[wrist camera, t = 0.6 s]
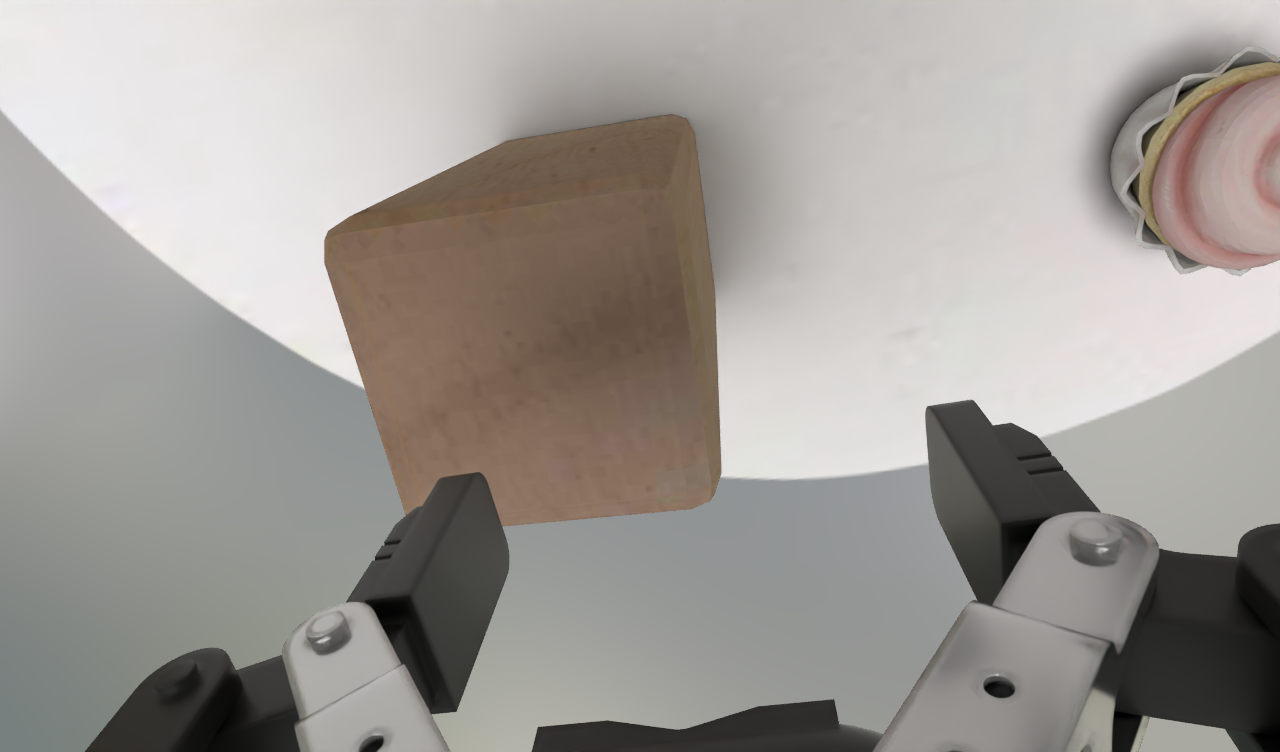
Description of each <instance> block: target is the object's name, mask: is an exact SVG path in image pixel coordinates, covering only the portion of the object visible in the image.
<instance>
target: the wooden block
mask: <svg viewBox="0 0 1280 752" xmlns="http://www.w3.org/2000/svg"><path fill="white" fill-rule="evenodd" d="M324 263H325V266H326V269H327V272H328V275H329V279H330V282H331V285H332V288H333V291H334V294H335V297H336V300H337V303H338V306H339V310H340V313H341V316H342V319H343V322H344V325H345V328H346V331H347V334H348V337H349V341H350V344H351V347H352V350H353V353H354V356H355V359H356V362H357V365H358V368H359V372H360V375H361V378H362V381H363V384H364V387H365V390H366V393H367V396H368V399H369V403H370V406H371V409H372V412H373V415H374V418H375V421H376V424H377V427H378V430H379V434H380V436H381V440H382V443H383V446H384V449H385V452H386V455H387V458H388V461H389V464H390V468H391V471H392V474H393V477H394V480H395V483H396V486H397V489H398V493H399V495H400V498H401V501H402V505H403V508H404V511H405V514H406V515H407V514H409V513H410V512H411V511H412V510H413V509H415V508H416V507H419V506H423V504H424V502H425V501H426V499H427V497H428V496H429V494H430V492H431V491H432V489H433V488H434V486H435V484H436V483H437V481H438V480H439V479H440V478H442V477H448V476H454V475H461V474H468V473H475V472H480V473H482V474H483V475H484V477H485V478H486V480H487V483H488V485H489V488H490V491H491V494H492V497H493V500H494V503H495V506H496V509H497V513H498V516H499V519H500V522H501V525H502V526H511V525H523V524H534V523H545V522H556V521H566V520H577V519H588V518H599V517H610V516H621V515H632V514H642V513H654V512H665V511H676V510H686V509H692V508H695V507H697V506H699V505H702V504H704V503H707V502H709V501H710V500H711V499H712V497H713V496H714V494H715V491H716V488H717V485H718V482H719V479H720V476H721V447H720V419H719V391H718V364H717V336H716V308H715V290H714V282H713V274H712V266H711V259H710V251H709V243H708V235H707V227H706V219H705V211H704V203H703V195H702V187H701V179H700V171H699V163H698V155H697V148H696V140H695V133H694V131H693V129H692V127H691V126H690V124H689V122H688V120H687V119H686V118H682V117H678V116H674V115H665V116H659V117H652V118H646V119H640V120H634V121H628V122H621V123H615V124H609V125H603V126H597V127H590V128H584V129H578V130H572V131H566V132H559V133H553V134H547V135H541V136H535V137H528V138H522V139H516V140H510V141H506V142H504V143H502V144H500V145H498V146H496V147H493V148H491V149H489V150H487V151H485V152H483V153H481V154H479V155H477V156H475V157H473V158H471V159H468V160H466V161H464V162H462V163H460V164H458V165H456V166H454V167H452V168H450V169H448V170H446V171H444V172H441V173H439V174H437V175H435V176H433V177H431V178H429V179H427V180H425V181H423V182H421V183H419V184H417V185H414V186H412V187H410V188H408V189H406V190H404V191H402V192H400V193H398V194H396V195H394V196H392V197H389V198H387V199H385V200H383V201H381V202H379V203H377V204H375V205H373V206H371V207H369V208H367V209H365V210H362V211H360V212H358V213H356V214H354V215H352V216H350V217H348V218H347V219H345V220H344V221H342V222H341V223H339V224H338V225H337V226H335V227H334V228H332V229H331V230H329V231H328V233H327V235H326V238H325V240H324Z"/></svg>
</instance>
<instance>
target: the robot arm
mask: <svg viewBox="0 0 1280 752" xmlns="http://www.w3.org/2000/svg"><path fill="white" fill-rule="evenodd" d="M925 419H926V433H927V447H928V460H929V472H930V484H931V493H932V498H933V503H934V507H935V511H936V514H937V517H938V520H939V522H940V524H941V526H942V528H943V530H944V532H945V534H946V536H947V539H948V540H949V542H950V545H951V546H952V549H953V551H954V553H955V555H956V557H957V559H958V561H959V563H960V565H961V567H962V569H963V572H964V574H965V576H966V578H967V580H968V582H969V584H970V586H971V588H972V590H973V592H974V594H975V596H976V598H977V600H978V601H976V600H973V601H971V602H969V603H968V604H967V605H966V606H965V608H964V609H963V611H962V612H961V614H960V615H959V617H958V618H957V620H956V621H955V623H954V625H953V626H952V628H951V629H950V631H949V632H948V634H947V636H946V637H945V639H944V640H943V642H942V643H941V645H940V647H939V648H938V650H937V651H936V653H935V655H934V656H933V657H932V659H931V661H930V663H929V664H928V665H927V667H926V668H925V670H924V672H923V673H922V675H921V676H920V678H919V680H918V681H917V683H916V684H915V686H914V687H913V689H912V690H911V692H910V694H909V695H908V697H907V698H906V700H905V701H904V703H903V705H902V706H901V708H900V709H899V711H898V712H897V714H896V716H895V717H894V719H893V720H892V722H891V723H890V725H889V727H888V728H887V730H886V731H885V733H884V734H880V733H878V732H875V731H871V730H867V729H863V728H858V727H855V726H849V725H842V724H839V722H838V717H837V711H836V707H835V701H834V699H833V700H823V701H812V702H801V703H790V704H780V705H769V706H758V707H755V708H752V709H749V710H746V711H742V712H739V713H736V714H732V715H729V716H726V717H723V718H720V719H716V720H713V721H710V722H707V723H703V724H700V725H697V726H694V727H691V728H687V729H681V730H675V729H666V728H659V727H651V726H644V725H636V724H629V723H621V722H614V721H599V722H587V723H577V724H566V725H555V726H545V727H538V729H537V733H536V737H535V741H534V745H533V749H532V752H1139V749H1140V746H1141V743H1142V740H1143V737H1144V734H1145V731H1146V728H1147V725H1148V722H1149V717H1154V718H1160V719H1167V720H1174V721H1180V722H1185V723H1192V724H1198V725H1204V726H1211V727H1217V728H1223V729H1226V731H1227V733H1228V734H1229V736H1230V738H1231V739H1232V741H1233V742H1234V744H1235V745H1236V747H1237V748H1238V750H1239V751H1240V752H1280V524H1271V525H1265V526H1261V527H1257V528H1255V529H1253V530H1250V531H1249V532H1247V533H1246V534H1245V535H1244V536H1243V537H1242V538H1241V539H1240V542H1239V545H1238V554H1237V557H1227V556H1213V555H1201V554H1188V553H1179V552H1172V551H1167V550H1163V549H1159V545H1158V543H1157V541H1156V539H1155V538H1154V537H1153V535H1152V534H1151V533H1149V532H1148V531H1147V530H1146V529H1145V528H1143V527H1142V526H1140V525H1138V524H1137V523H1134V522H1132V521H1130V520H1128V519H1125V518H1122V517H1119V516H1115V515H1111V514H1106V513H1101V512H1100V511H1099V509H1098V508H1097V507H1096V506H1095V504H1094V503H1093V502H1092V501H1091V500H1090V499H1089V497H1088V496H1087V495H1086V494H1085V493H1084V491H1083V490H1082V489H1081V488H1080V487H1079V485H1078V484H1077V483H1076V482H1075V481H1074V480H1073V478H1072V477H1071V476H1070V475H1069V474H1068V472H1067V471H1066V470H1065V471H1064V470H1063V467H1062V465H1061V464H1060V463H1059V462H1058V460H1057V459H1056V458H1055V457H1054V456H1052V455H1051V452H1050V451H1049V450H1048V448H1047V447H1046V446H1045V445H1044V444H1043V442H1042V441H1041V440H1040V439H1039V438H1038V436H1036V435H1034V434H1032V433H1030V432H1028V431H1026V430H1024V429H1022V428H1020V427H1018V426H1017V425H1015V424H1013V423H1007V424H1000V425H992V424H991V423H990V421H989V420H988V419H987V417H986V416H985V415H984V413H983V412H982V411H981V409H980V408H979V407H978V405H977V404H976V403H975V401H973V400H966V401H960V402H953V403H946V404H939V405H933V406H928V407H927V408H926V414H925ZM384 543H385V546H382V547H381V548H380V550H379V551H378V553H377V554H376V556H375V561H372V562H371V564H370V565H369V567H368V569H367V570H366V572H365V573H364V575H363V576H362V578H361V579H360V581H359V583H358V584H357V586H356V587H355V589H354V590H353V592H352V593H351V595H350V597H349V598H348V600H347V601H346V603H342V604H338V605H335V606H332V607H329V608H327V609H324V610H322V611H320V612H318V613H317V614H315V615H313V616H311V617H310V618H308V619H307V620H305V621H304V622H303V623H302V624H300V625H299V626H298V627H297V628H296V629H295V630H294V631H293V632H292V633H291V634H290V635H289V637H288V638H287V640H286V641H285V643H284V646H283V649H282V655H280V656H277V657H275V658H272V659H269V660H266V661H263V662H260V663H257V664H254V665H251V666H248V667H245V668H242V669H239V670H236V669H235V667H234V665H233V663H232V662H231V660H230V658H229V656H228V654H227V653H226V652H225V651H224V650H222V649H219V648H205V649H200V650H196V651H193V652H190V653H187V654H185V655H183V656H180V657H178V658H176V659H174V660H172V661H170V662H168V663H167V664H165V665H163V666H162V667H161V668H159V669H157V670H156V671H155V672H153V673H152V674H151V675H150V676H148V677H147V678H146V679H145V680H144V681H143V682H142V683H141V684H140V685H139V686H138V687H137V688H136V690H135V691H134V692H133V693H132V695H131V696H130V697H129V698H128V700H127V701H126V702H125V703H124V704H123V706H122V707H121V708H120V709H119V710H118V712H117V713H116V714H115V715H114V717H113V718H112V719H111V720H110V721H109V723H108V724H107V725H106V727H105V728H104V729H103V730H102V731H101V732H100V734H99V735H98V736H97V737H96V739H95V740H94V741H93V742H92V743H91V745H90V746H89V747H88V748H87V750H86V751H85V752H450V749H449V748H448V746H447V744H446V742H445V740H444V738H443V736H442V734H441V732H440V730H439V729H438V727H437V725H436V723H435V721H434V719H433V717H432V715H431V714H439V713H449V712H456V711H457V709H458V706H459V703H460V701H461V698H462V695H463V693H464V690H465V687H466V685H467V682H468V679H469V677H470V674H471V671H472V669H473V666H474V663H475V660H476V658H477V655H478V652H479V650H480V647H481V644H482V642H483V639H484V636H485V633H486V631H487V628H488V626H489V623H490V620H491V618H492V615H493V612H494V609H495V607H496V604H497V601H498V599H499V596H500V593H501V591H502V588H503V585H504V582H505V580H506V577H507V574H508V570H509V550H508V544H507V540H506V537H505V534H504V531H503V528H502V525H501V522H500V519H499V516H498V513H497V509H496V506H495V503H494V500H493V497H492V494H491V491H490V488H489V485H488V483H487V480H486V478H485V477H484V475H483V474H482V473H480V472H475V473H468V474H461V475H454V476H448V477H442V478H440V479H439V480H438V481H437V483H436V484H435V486H434V488H433V489H432V491H431V492H430V494H429V496H428V497H427V499H426V501H425V502H424V504H423V506H419V507H416V508H415V509H413V510H412V511H411V512H410V513H409V514H407V515H406V516H405V517H404V518H403V519H402V520H400V521H399V522H398V523H397V524H396V525H395V526H394V528H393V530H392V531H391V533H390V534H389V536H388V537H387V539H386V540H385V542H384Z"/></svg>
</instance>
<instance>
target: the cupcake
mask: <svg viewBox="0 0 1280 752" xmlns="http://www.w3.org/2000/svg"><path fill="white" fill-rule="evenodd" d="M1110 174H1111V181H1112V187H1113V189H1114V191H1115V193H1116V195H1117V196H1118V198H1119V200H1120V201H1121V202H1122V204H1123V205H1124V206H1125V207H1126V208H1127V209H1128V211H1129V212H1130V214H1131V216H1132V217H1133V219H1134V226H1135V235H1136V243H1137V245H1138V246H1140V247H1143V248H1149V249H1160V250H1165V251H1166V253H1167V255H1168V257H1169V259H1170V261H1171V262H1172V264H1173V266H1174V268H1175V269H1176V270H1177V271H1178V272H1179V274H1187V273H1191V272H1194V271H1197V270H1199V269H1202V268H1205V267H1207V266H1211V267H1216V268H1221V269H1223V270H1225V271H1226V272H1228V273H1230V274H1232V275H1237V276H1241V275H1243V274H1244V273H1246V272H1248V271H1249V270H1250V269H1251V268H1254V267H1259V266H1264V265H1267V264H1270V263H1273V262H1275V261H1278V260H1280V58H1277V57H1275V56H1274V55H1272V54H1270V53H1269V52H1267V51H1265V50H1264V49H1262V48H1258V47H1253V46H1248V47H1246V48H1245V49H1243V50H1242V51H1240V52H1239V53H1237V54H1236V55H1234V56H1233V57H1231V58H1230V59H1229V60H1227V61H1226V62H1224V63H1223V64H1222V65H1220V66H1219V67H1217V68H1216V69H1215V70H1213V71H1210V72H1208V73H1203V74H1191V75H1188V76H1184V77H1182V78H1181V79H1180V81H1179V82H1178V83H1176V84H1173V85H1171V86H1168V87H1165V88H1164V89H1162V90H1160V91H1159V92H1157V93H1156V94H1154V95H1153V96H1151V97H1150V98H1149V99H1147V100H1146V101H1145V102H1144V103H1142V104H1141V105H1140V106H1139V107H1138V108H1137V109H1136V110H1135V111H1134V112H1133V113H1132V114H1131V115H1130V116H1129V118H1128V120H1127V121H1126V123H1125V124H1124V126H1123V127H1122V129H1121V131H1120V132H1119V134H1118V137H1117V139H1116V141H1115V144H1114V147H1113V149H1112V153H1111V162H1110Z"/></svg>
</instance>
